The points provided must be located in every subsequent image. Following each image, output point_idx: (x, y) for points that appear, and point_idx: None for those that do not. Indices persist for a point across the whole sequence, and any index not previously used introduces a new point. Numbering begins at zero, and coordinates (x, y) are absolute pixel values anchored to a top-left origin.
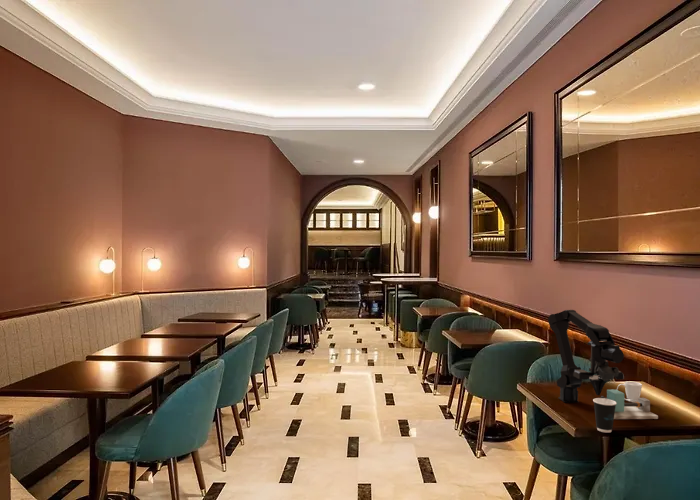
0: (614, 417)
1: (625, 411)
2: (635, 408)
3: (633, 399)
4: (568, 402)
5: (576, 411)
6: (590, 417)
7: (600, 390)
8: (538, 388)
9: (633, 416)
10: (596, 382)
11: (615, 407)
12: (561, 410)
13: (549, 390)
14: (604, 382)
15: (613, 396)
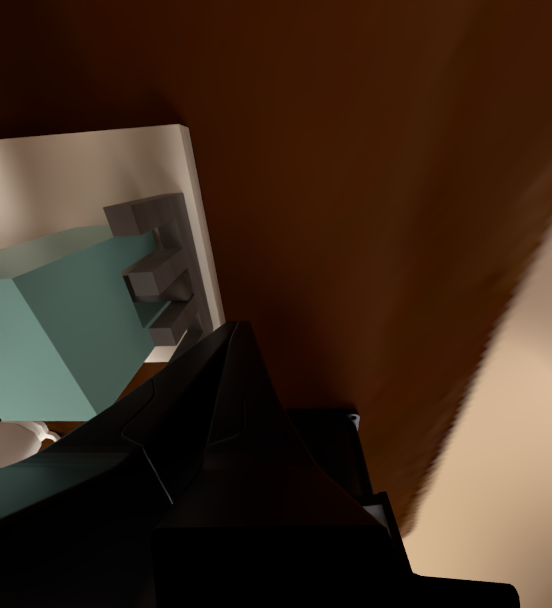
0: (183, 126)
1: None
2: None
3: (12, 425)
4: (339, 410)
5: (382, 292)
6: (363, 164)
7: (203, 352)
8: None
9: (21, 139)
10: (299, 490)
11: None
12: (469, 307)
13: None
14: (4, 485)
15: (71, 287)
